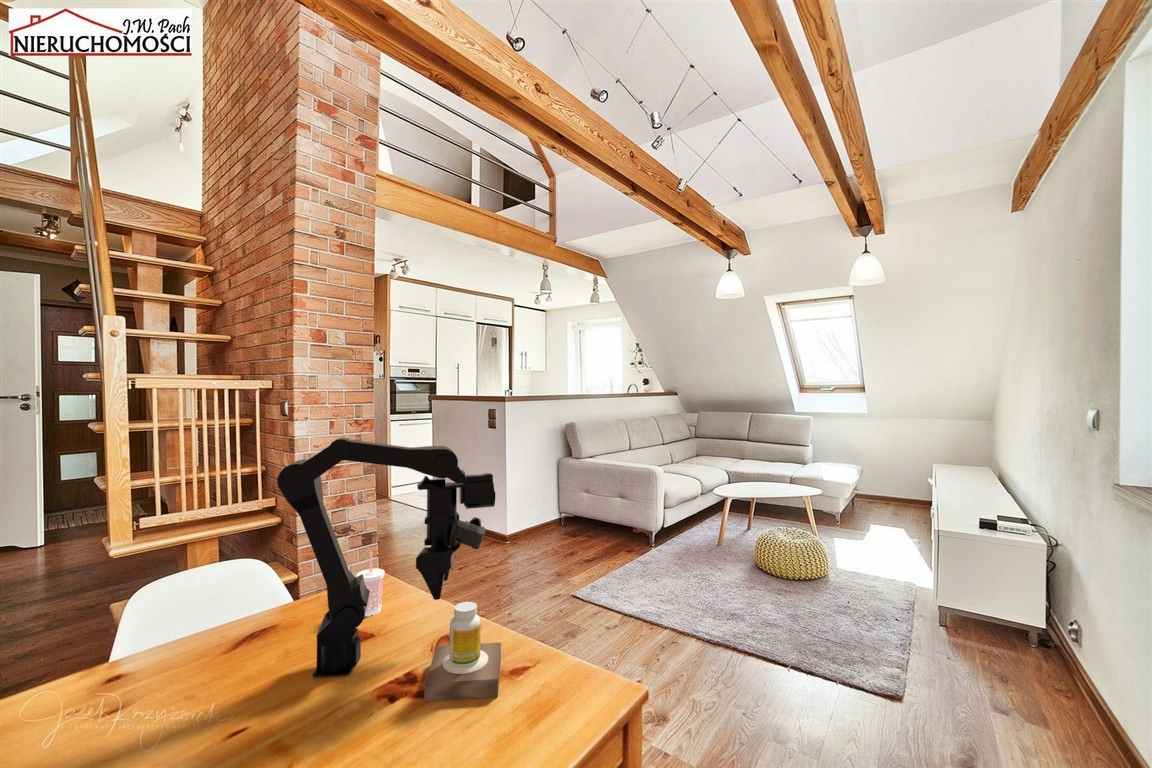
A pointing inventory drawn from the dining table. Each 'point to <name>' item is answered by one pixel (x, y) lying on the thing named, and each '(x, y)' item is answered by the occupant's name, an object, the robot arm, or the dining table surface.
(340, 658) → the robot arm
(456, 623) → the supplement bottle
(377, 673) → the dining table surface
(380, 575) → the beverage cup
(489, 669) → the brown flat square block
